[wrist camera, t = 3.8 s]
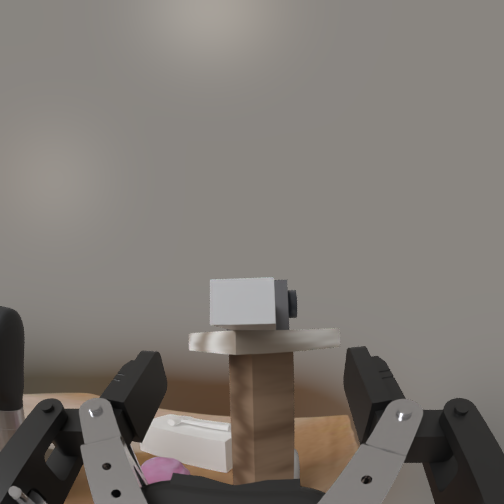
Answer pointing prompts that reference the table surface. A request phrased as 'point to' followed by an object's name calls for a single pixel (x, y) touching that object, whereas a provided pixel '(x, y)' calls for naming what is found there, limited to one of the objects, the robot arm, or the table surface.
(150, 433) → the tissue box
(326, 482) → the table surface
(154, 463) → the cupcake
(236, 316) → the grey block with knob
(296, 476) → the donut
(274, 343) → the stand
